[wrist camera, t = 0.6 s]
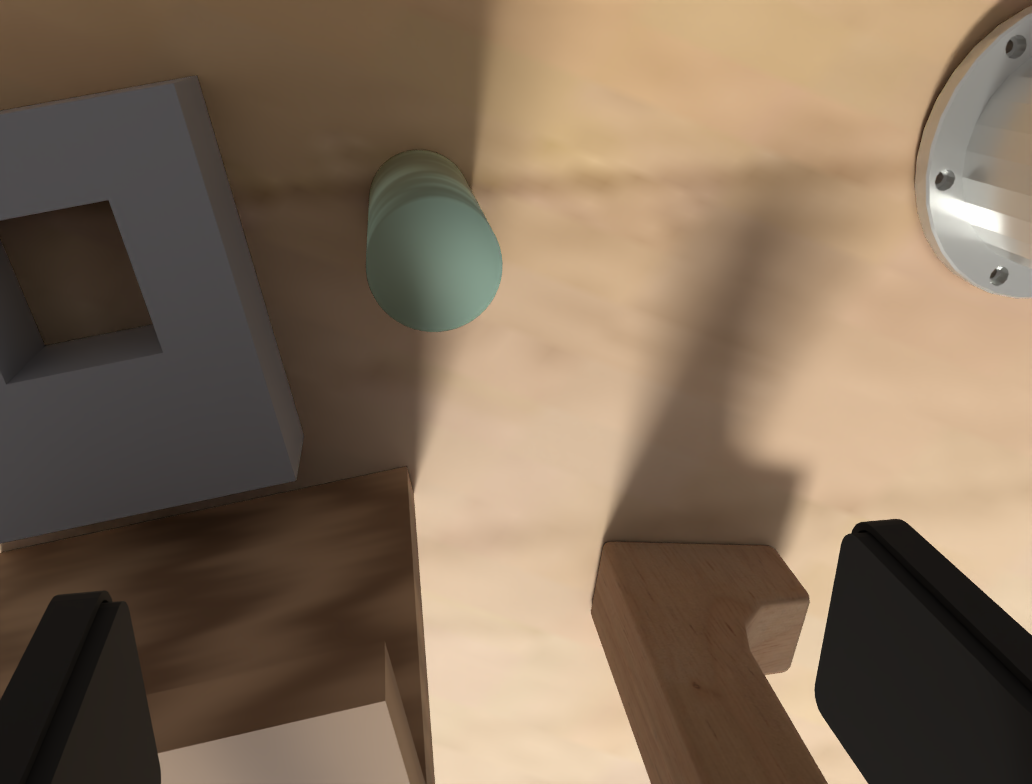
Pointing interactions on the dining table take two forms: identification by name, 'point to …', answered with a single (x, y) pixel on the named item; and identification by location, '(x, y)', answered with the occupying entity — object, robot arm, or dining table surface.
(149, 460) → the socket block
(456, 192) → the peg
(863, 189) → the dining table surface
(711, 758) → the wooden block
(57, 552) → the brown notched wall
